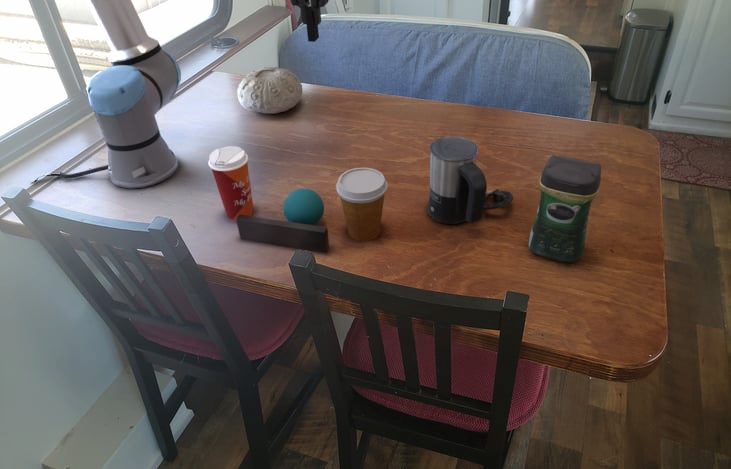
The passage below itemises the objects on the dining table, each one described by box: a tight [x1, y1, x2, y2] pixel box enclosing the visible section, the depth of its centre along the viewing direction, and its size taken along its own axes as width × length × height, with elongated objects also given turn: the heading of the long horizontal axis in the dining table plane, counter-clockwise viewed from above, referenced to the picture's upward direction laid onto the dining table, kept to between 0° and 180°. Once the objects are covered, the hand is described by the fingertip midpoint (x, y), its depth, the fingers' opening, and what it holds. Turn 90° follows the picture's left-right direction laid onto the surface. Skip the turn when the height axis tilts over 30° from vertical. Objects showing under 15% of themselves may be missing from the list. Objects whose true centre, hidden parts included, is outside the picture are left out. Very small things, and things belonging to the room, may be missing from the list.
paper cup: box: [207, 145, 255, 222], centre depth 109 cm, size 8×8×14 cm
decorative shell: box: [237, 66, 303, 115], centre depth 149 cm, size 18×18×10 cm
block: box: [235, 214, 330, 254], centre depth 103 cm, size 18×2×5 cm, turn 74°
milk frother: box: [427, 136, 514, 225], centre depth 106 cm, size 14×16×15 cm
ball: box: [282, 187, 325, 226], centre depth 107 cm, size 8×8×8 cm
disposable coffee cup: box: [335, 167, 388, 242], centre depth 103 cm, size 10×10×12 cm
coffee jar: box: [528, 154, 602, 263], centre depth 95 cm, size 10×8×19 cm
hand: (313, 39), depth 117 cm, fingers closed
